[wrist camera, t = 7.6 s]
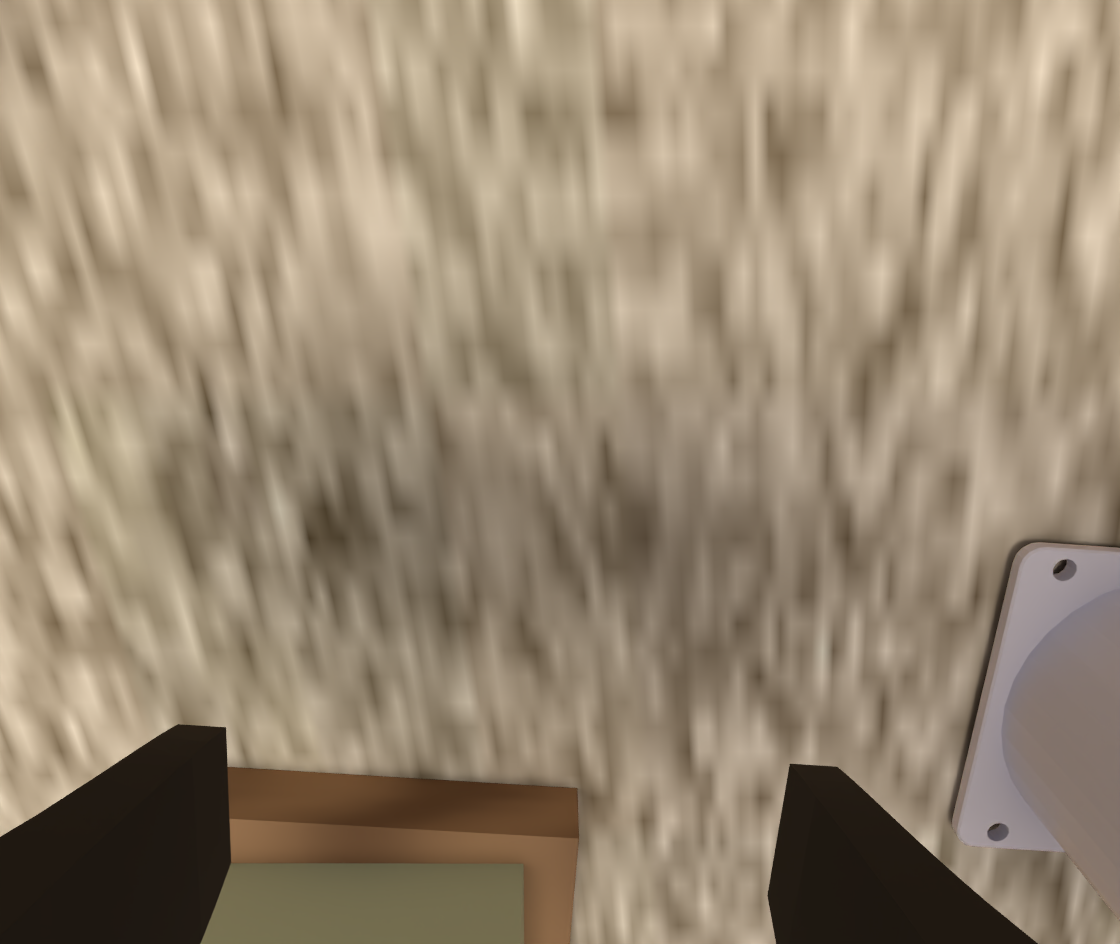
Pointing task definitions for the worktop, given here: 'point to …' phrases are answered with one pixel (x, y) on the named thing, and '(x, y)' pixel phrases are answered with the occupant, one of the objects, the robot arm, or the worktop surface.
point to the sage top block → (369, 904)
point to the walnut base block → (414, 829)
